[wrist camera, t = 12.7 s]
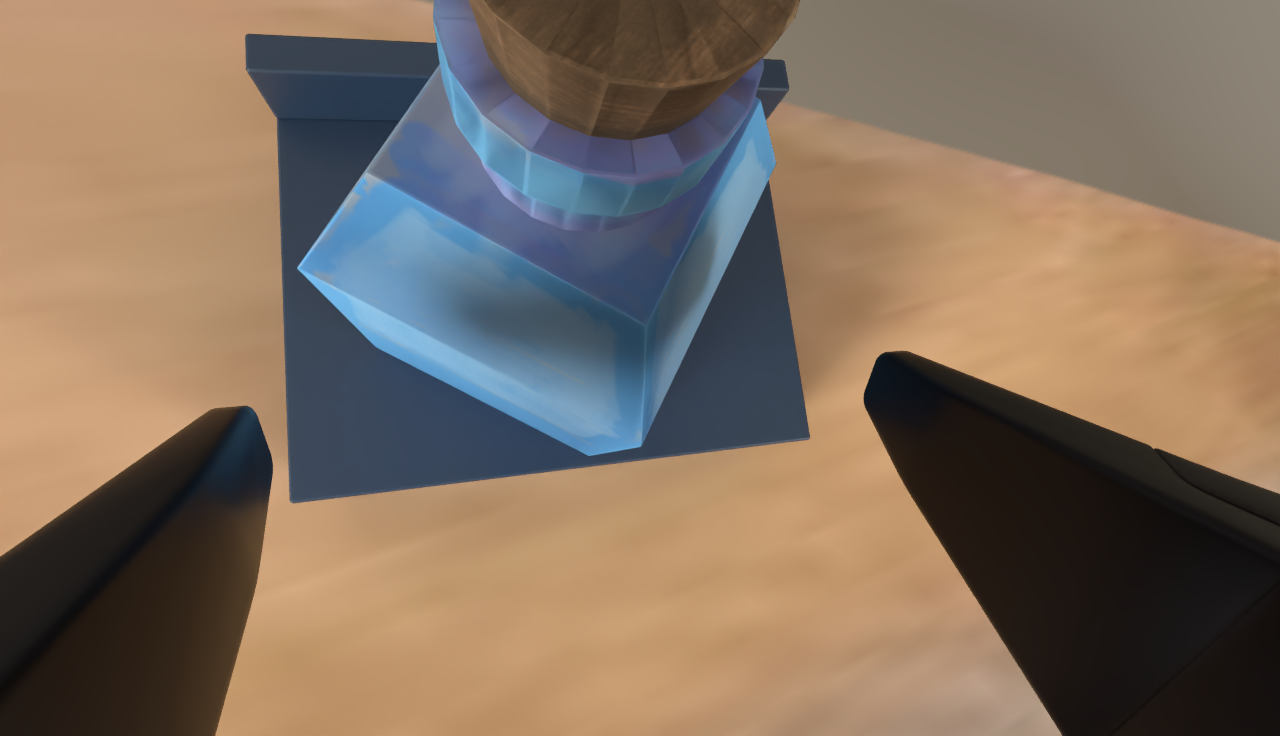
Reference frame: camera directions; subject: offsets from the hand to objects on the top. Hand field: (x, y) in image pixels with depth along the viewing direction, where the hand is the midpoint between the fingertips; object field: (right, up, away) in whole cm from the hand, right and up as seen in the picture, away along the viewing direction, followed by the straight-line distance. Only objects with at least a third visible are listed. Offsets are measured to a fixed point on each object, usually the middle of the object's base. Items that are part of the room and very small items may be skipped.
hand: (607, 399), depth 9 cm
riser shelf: (-3, +2, +12) cm, 13 cm away
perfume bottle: (-2, +2, +8) cm, 9 cm away
